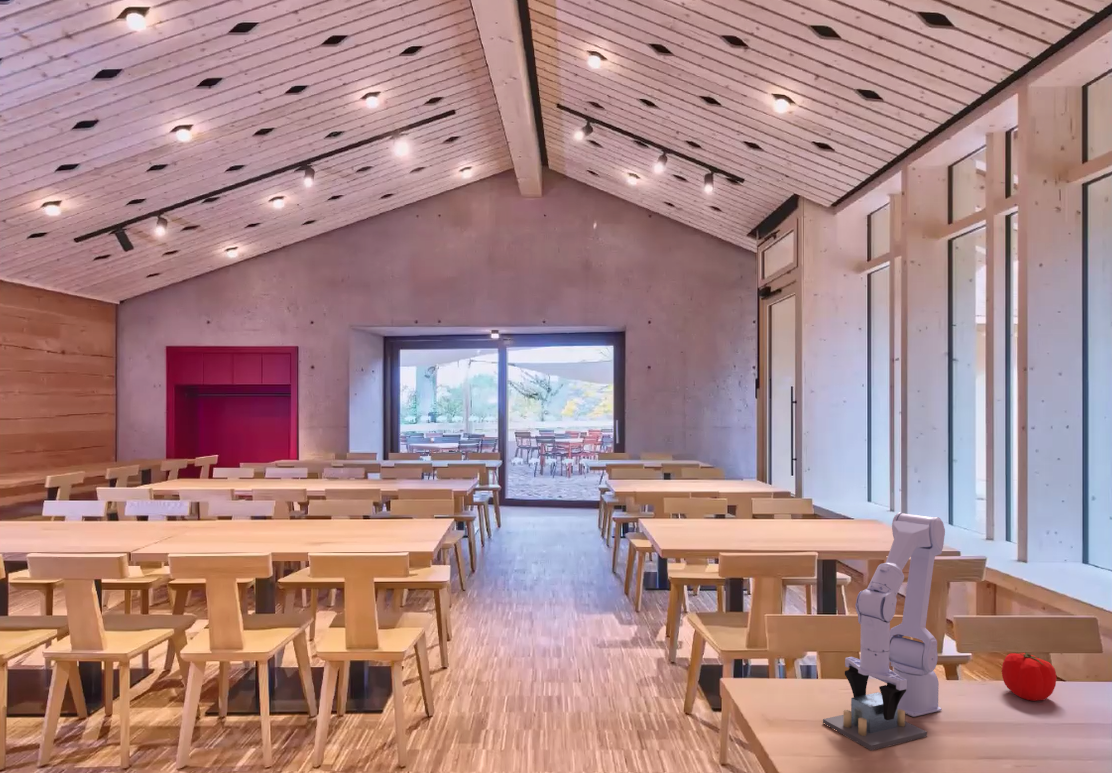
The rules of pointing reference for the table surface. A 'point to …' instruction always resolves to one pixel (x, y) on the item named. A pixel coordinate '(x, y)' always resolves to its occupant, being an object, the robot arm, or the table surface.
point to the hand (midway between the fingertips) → (874, 711)
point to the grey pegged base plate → (876, 739)
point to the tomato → (1028, 676)
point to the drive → (871, 712)
